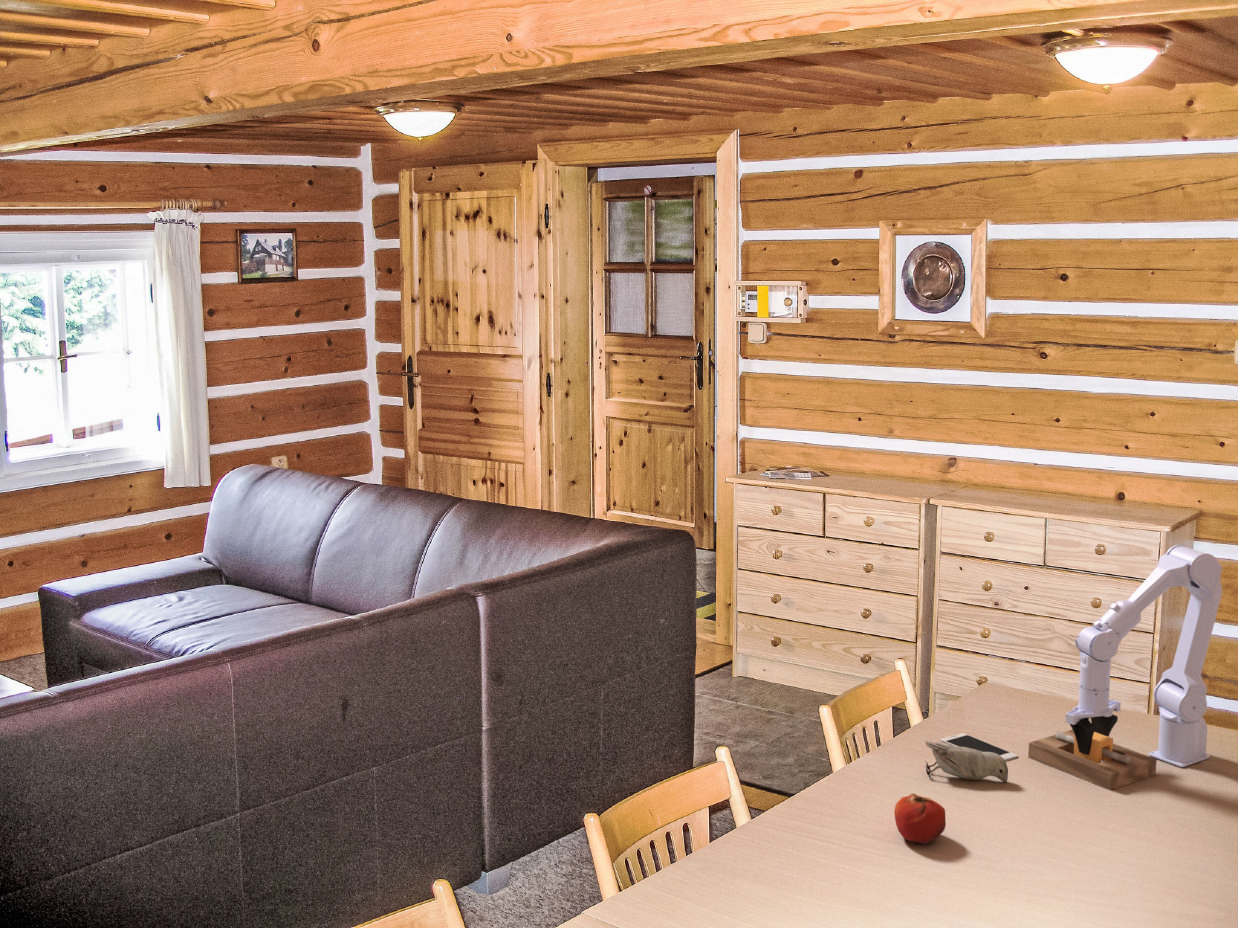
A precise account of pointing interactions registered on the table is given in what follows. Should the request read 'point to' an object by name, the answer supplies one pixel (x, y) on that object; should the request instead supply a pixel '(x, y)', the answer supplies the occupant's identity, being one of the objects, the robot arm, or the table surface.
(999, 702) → the table surface
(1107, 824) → the table surface
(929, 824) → the tomato
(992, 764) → the decorative bird
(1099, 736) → the orange notched block
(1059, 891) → the table surface
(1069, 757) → the wooden slotted rail base
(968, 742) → the smartphone
